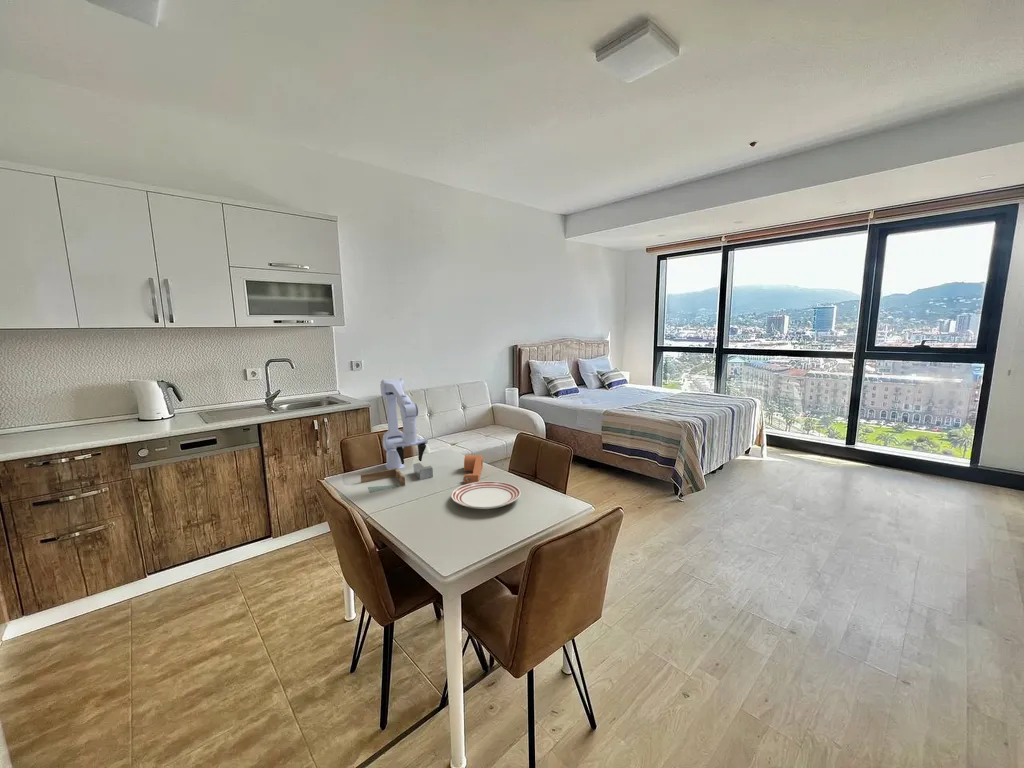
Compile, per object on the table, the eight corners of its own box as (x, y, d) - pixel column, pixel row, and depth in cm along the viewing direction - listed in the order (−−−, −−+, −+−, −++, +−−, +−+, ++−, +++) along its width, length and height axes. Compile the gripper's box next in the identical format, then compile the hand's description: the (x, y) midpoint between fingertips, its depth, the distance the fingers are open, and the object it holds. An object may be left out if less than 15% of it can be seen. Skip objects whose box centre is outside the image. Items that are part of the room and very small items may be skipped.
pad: (367, 487, 172) (367, 486, 172) (397, 481, 178) (397, 480, 178) (370, 492, 166) (370, 492, 166) (401, 486, 172) (401, 485, 172)
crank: (466, 468, 194) (466, 453, 193) (482, 468, 194) (482, 453, 193) (460, 484, 175) (459, 466, 174) (478, 484, 174) (477, 466, 173)
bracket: (413, 474, 187) (413, 464, 187) (426, 471, 190) (425, 461, 190) (420, 480, 179) (419, 470, 178) (433, 478, 182) (432, 467, 181)
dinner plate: (449, 490, 168) (449, 482, 168) (512, 484, 174) (512, 476, 173) (453, 519, 141) (453, 510, 141) (528, 511, 147) (528, 502, 146)
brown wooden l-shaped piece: (361, 483, 176) (360, 474, 176) (397, 476, 184) (396, 468, 184) (366, 494, 164) (366, 484, 164) (405, 486, 172) (404, 477, 172)
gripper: (395, 435, 164) (396, 467, 166) (429, 431, 171) (430, 461, 173) (391, 432, 170) (392, 462, 172) (424, 428, 177) (425, 457, 179)
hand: (411, 462), depth 173 cm, fingers open, 7 cm apart
